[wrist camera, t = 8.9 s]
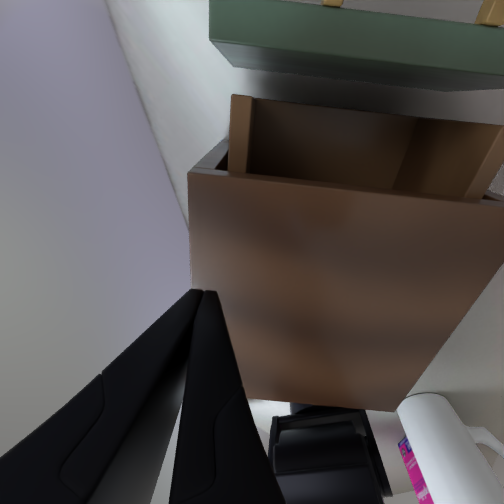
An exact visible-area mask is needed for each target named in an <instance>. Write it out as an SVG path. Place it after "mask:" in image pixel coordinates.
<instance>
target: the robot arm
mask: <svg viewBox="0 0 504 504" xmlns="http://www.w3.org/2000/svg"><path fill="white" fill-rule="evenodd" d="M182 400H183V403H182ZM181 403H182V411H181V417H180V424H179V432H178V439H177V446H176V453H175V461H174V468H173V475H172V483H171V490H170V497H169V504H385V503H384V500H383V497H392V496H393V494H392V491H391V488H390V485H389V481H388V478H387V475H386V472H385V469H384V466H383V463H382V460H381V456H380V453H379V450H378V447H377V444H376V441H375V438H374V435H373V432H372V429H371V427H370V424H369V421H368V418H367V415H366V412H365V410H364V409H354V408H344V407H333V406H323V405H313V404H302V403H292V402H290V412H291V415H287V416H280V417H279V416H273V417H272V425H271V430H270V440H269V450H268V457H267V455H266V452H265V450H264V447H263V445H262V442H261V439H260V436H259V434H258V431H257V428H256V426H255V423H254V420H253V416H252V413H251V410H250V407H249V404H248V400H247V397H246V393H245V389H244V387H243V383H242V379H241V375H240V372H239V368H238V364H237V361H236V357H235V354H234V350H233V346H232V343H231V339H230V335H229V332H228V328H227V324H226V321H225V317H224V313H223V310H222V306H221V302H220V299H219V295H218V292H217V291H213V290H205V291H203V290H202V289H190V290H189V291H188V292H186V293H185V294H184V295H183V296H182V297H181V298H180V299H179V300H178V301H177V302H176V303H175V304H174V305H172V306H171V307H170V308H169V309H168V310H167V311H166V312H165V313H164V314H163V315H162V316H161V317H160V318H159V319H157V320H156V321H155V322H154V323H153V324H152V325H151V326H150V327H149V328H148V329H147V330H146V331H145V332H144V333H142V334H141V335H140V336H139V337H138V338H137V339H136V340H135V341H134V342H133V343H132V344H131V345H130V346H129V347H127V348H126V349H125V350H124V352H122V353H121V354H120V355H119V356H118V357H117V358H116V359H115V360H114V361H112V362H111V364H109V365H108V366H107V367H106V368H105V369H104V370H103V371H102V374H98V375H97V376H96V377H95V378H94V379H93V380H92V381H91V382H90V383H89V384H88V385H86V387H84V388H83V389H82V390H81V391H80V392H79V393H78V394H77V395H75V396H74V397H73V398H72V399H71V400H70V401H69V402H68V403H66V404H65V405H64V406H63V407H62V408H61V409H59V410H58V411H57V412H56V413H55V414H53V415H52V416H51V417H50V418H49V419H47V420H46V421H45V422H44V423H43V424H41V425H40V426H39V427H38V428H37V429H35V430H34V431H33V432H32V433H31V434H29V435H28V436H27V437H25V438H24V439H23V440H22V441H20V442H19V443H18V444H17V445H15V446H14V447H13V448H12V449H10V450H9V451H8V452H7V453H5V454H4V455H3V456H1V457H0V504H150V502H151V499H152V496H153V493H154V489H155V486H156V483H157V480H158V477H159V474H160V470H161V467H162V464H163V461H164V458H165V454H166V451H167V448H168V445H169V441H170V438H171V435H172V432H173V429H174V426H175V423H176V419H177V416H178V413H179V410H180V406H181Z"/></svg>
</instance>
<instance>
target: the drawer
mask: <svg viewBox="0 0 504 504" xmlns="http://www.w3.org/2000/svg"><path fill="white" fill-rule="evenodd" d="M343 1H344V0H321V5H315V4H307V3H299V2H291V1H283V0H209V40H210V41H211V42H212V44H213V45H214V46H215V47H216V48H217V49H218V50H219V51H220V53H221V54H222V55H223V56H224V57H225V58H226V59H227V60H228V62H229V63H230V64H231V65H232V66H233V67H238V68H247V69H255V70H264V71H272V72H281V73H289V74H298V75H306V76H315V77H323V78H332V79H340V80H349V81H357V82H366V83H374V84H383V85H391V86H400V87H408V88H417V89H425V90H434V91H442V92H452V91H471V90H490V89H504V27H498V26H501V25H503V24H504V0H484V1H483V4H482V6H481V8H480V11H479V13H478V16H477V18H476V20H475V23H474V24H471V23H463V22H455V21H446V20H438V19H430V18H422V17H414V16H405V15H397V14H389V13H381V12H373V11H364V10H356V9H348V8H340V7H341V5H342V4H343ZM503 162H504V125H495V124H485V123H475V122H465V121H455V120H445V119H435V118H425V117H416V116H407V115H399V114H390V113H381V112H373V111H364V110H355V109H347V108H338V107H329V106H321V105H312V104H303V103H295V102H286V101H277V100H269V99H260V98H254V97H252V96H245V95H237V94H232V95H231V109H230V130H229V150H228V171H231V172H240V173H249V174H258V175H267V176H276V177H285V178H294V179H303V180H312V181H321V182H330V183H339V184H348V185H357V186H366V187H375V188H384V189H393V190H402V191H411V192H420V193H429V194H438V195H447V196H456V197H466V198H475V199H482V198H483V196H484V194H485V193H486V191H487V189H488V188H489V186H490V184H491V182H492V181H493V179H494V177H495V176H496V174H497V172H498V170H499V169H500V167H501V165H502V164H503Z"/></svg>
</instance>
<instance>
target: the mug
mask: <svg viewBox="0 0 504 504" xmlns="http://www.w3.org/2000/svg"><path fill="white" fill-rule="evenodd" d="M397 413H398V415H399V418H400V420H401V423H402V425H403V428H404V431H405V433H406V436H407V438H408V441H409V443H410V446H411V448H412V450H413V453H414V455H415V458H416V460H417V463H418V465H419V468H420V470H421V472H422V475H423V477H424V480H425V482H426V485H427V487H428V490H429V492H430V495H431V497H432V500H433V502H434V504H504V487H503V485H502V484H501V482H500V480H499V479H498V477H497V476H496V474H495V473H494V471H493V469H492V468H491V466H490V465H489V463H488V462H487V460H486V459H485V457H484V456H483V454H482V452H481V451H480V449H479V448H478V446H477V445H476V443H482V444H485V445H487V446H488V447H490V448H491V449H493V450H494V451H496V452H497V453H498V454H499V455H500V456H502V457H503V459H504V445H503V444H502V443H501V442H500V441H499V440H498V439H497V438H496V437H494V436H493V435H492V434H491V433H490V432H489V431H488V430H487V429H486V428H484V427H470V426H466V425H464V424H463V423H462V421H461V420H460V418H459V417H458V415H457V414H456V412H455V411H454V409H453V408H452V406H451V405H450V403H449V402H448V400H447V399H446V398H445V397H443V396H441V395H439V394H434V393H423V394H417V395H413V396H411V397H408V398H406V399H404V400H403V401H402V402H401V404H400V405H399V407H398V408H397Z"/></svg>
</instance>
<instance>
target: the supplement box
mask: <svg viewBox="0 0 504 504" xmlns="http://www.w3.org/2000/svg"><path fill="white" fill-rule="evenodd" d="M398 447H399V449H400V452H401V455H402V457H403V460H404V463H405V466H406V468H407V471H408V474H409V476H410V479H411V482H412V485H413V487H414V490H415V493H416V495H417V498H418V501H419V503H420V504H434V502H433V500H432V497H431V495H430V492H429V490H428V487H427V485H426V482H425V480H424V477H423V475H422V472H421V470H420V468H419V465H418V463H417V460H416V458H415V455H414V453H413V450H412V448H411V446H410V443H409V441H408V438H407V436H406V437H405V438H404V439H403V440H402V441H401V442H400V443H399V444H398Z"/></svg>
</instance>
